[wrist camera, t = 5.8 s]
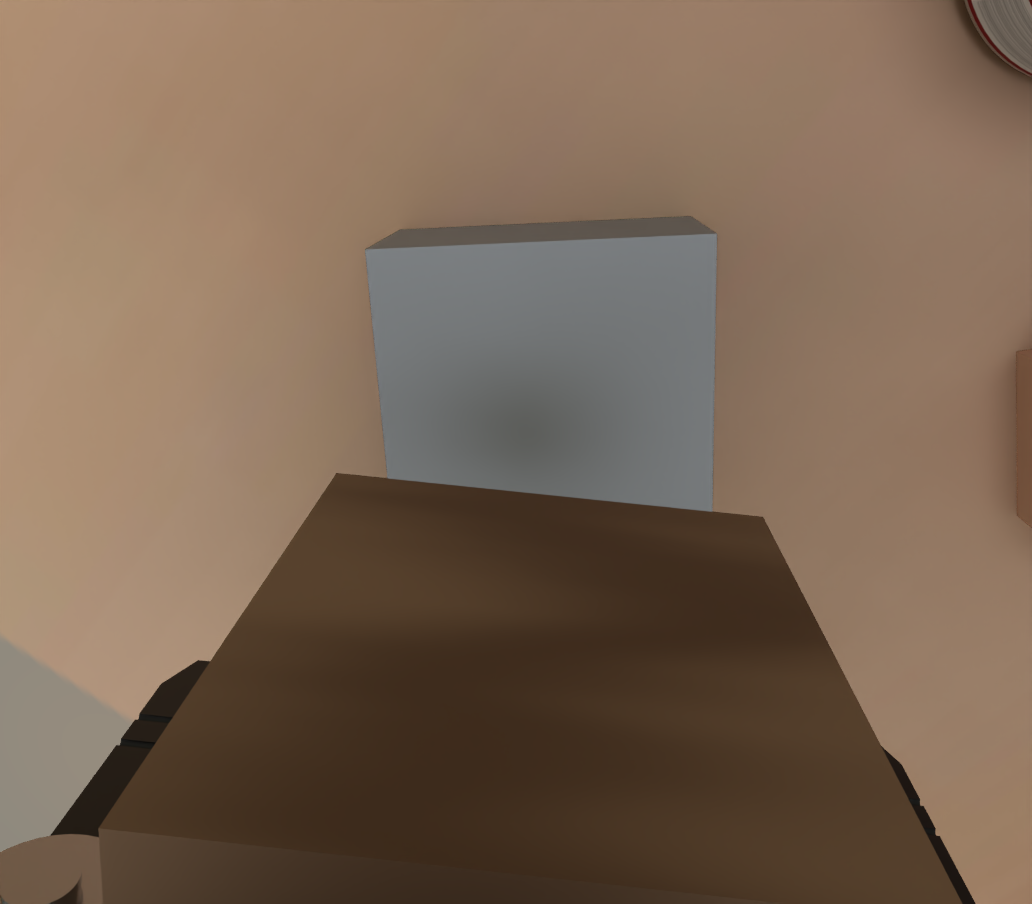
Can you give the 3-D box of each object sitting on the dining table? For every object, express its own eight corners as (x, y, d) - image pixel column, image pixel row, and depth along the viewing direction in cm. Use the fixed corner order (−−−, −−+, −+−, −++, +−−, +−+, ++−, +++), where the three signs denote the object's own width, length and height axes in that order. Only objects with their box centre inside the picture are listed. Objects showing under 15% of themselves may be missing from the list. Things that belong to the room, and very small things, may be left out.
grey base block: (689, 215, 26) (716, 233, 21) (687, 488, 29) (711, 558, 24) (401, 229, 27) (365, 249, 22) (424, 495, 29) (396, 565, 24)
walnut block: (762, 516, 11) (973, 925, 5) (697, 862, 13) (804, 1457, 7) (336, 473, 11) (99, 826, 5) (325, 822, 13) (132, 1376, 7)
